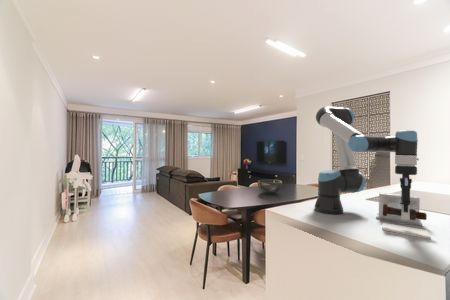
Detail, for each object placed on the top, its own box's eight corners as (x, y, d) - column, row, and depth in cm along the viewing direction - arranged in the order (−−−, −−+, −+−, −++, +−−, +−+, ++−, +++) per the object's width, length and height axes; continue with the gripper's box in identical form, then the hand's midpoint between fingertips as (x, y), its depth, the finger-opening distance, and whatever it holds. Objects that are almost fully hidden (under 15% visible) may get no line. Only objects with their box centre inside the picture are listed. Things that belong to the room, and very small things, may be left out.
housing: (376, 218, 114) (376, 193, 114) (377, 214, 122) (377, 191, 122) (422, 226, 103) (422, 199, 103) (420, 221, 111) (420, 196, 111)
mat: (381, 229, 98) (381, 227, 98) (382, 224, 106) (382, 222, 106) (430, 239, 88) (430, 237, 88) (427, 232, 96) (427, 230, 96)
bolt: (426, 226, 92) (382, 217, 101) (424, 217, 96) (382, 210, 105) (427, 215, 90) (383, 208, 99) (426, 207, 94) (383, 201, 102)
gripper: (419, 166, 88) (418, 224, 88) (415, 165, 102) (414, 215, 102) (395, 165, 92) (394, 221, 92) (394, 164, 106) (394, 212, 106)
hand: (405, 217), depth 97 cm, fingers closed on bolt, 5 cm apart
